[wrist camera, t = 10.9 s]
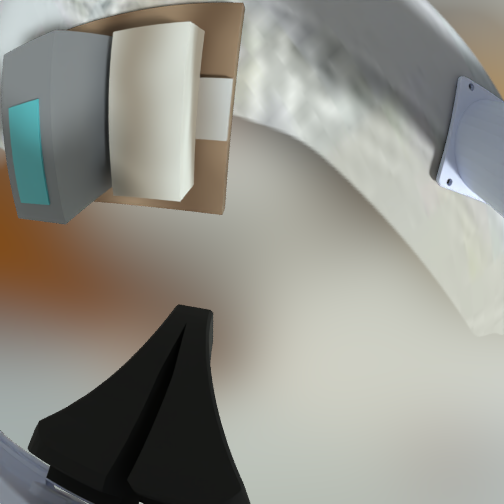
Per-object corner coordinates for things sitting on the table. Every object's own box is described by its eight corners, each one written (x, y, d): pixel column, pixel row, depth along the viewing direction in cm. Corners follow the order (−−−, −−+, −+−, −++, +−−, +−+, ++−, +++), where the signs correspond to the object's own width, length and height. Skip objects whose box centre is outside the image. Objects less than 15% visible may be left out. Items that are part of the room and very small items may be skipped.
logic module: (124, 38, 11) (53, 29, 6) (122, 179, 16) (64, 225, 11) (73, 50, 11) (2, 55, 6) (76, 177, 16) (17, 218, 11)
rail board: (244, 7, 11) (234, -16, 7) (224, 208, 18) (211, 239, 15) (31, 48, 11) (-5, 52, 8) (38, 192, 18) (8, 213, 15)
